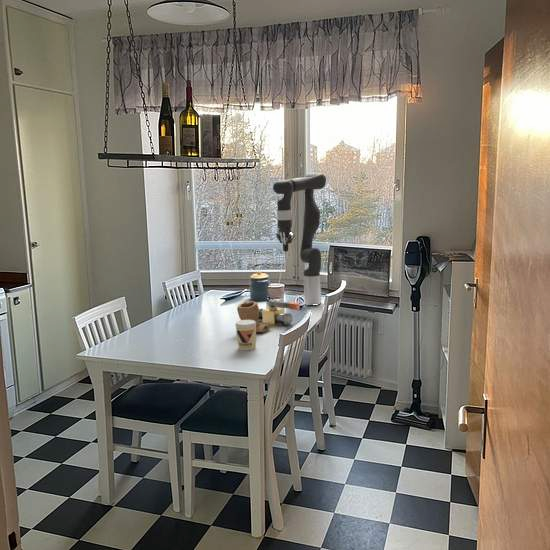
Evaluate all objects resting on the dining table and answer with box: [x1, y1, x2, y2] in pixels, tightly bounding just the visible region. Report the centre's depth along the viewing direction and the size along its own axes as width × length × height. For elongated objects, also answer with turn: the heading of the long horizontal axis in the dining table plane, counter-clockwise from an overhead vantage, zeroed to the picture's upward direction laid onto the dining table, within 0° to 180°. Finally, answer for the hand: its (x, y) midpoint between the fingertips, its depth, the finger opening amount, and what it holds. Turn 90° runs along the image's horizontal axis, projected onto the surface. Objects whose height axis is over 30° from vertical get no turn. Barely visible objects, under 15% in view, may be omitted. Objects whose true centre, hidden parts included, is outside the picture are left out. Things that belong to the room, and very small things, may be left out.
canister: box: [248, 270, 271, 302], centre depth 352 cm, size 13×13×18 cm
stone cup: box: [237, 300, 272, 333], centre depth 283 cm, size 15×12×15 cm
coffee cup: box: [235, 319, 257, 351], centre depth 259 cm, size 9×9×12 cm
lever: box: [267, 299, 301, 311], centre depth 294 cm, size 17×4×3 cm, turn 57°
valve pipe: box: [258, 306, 293, 327], centre depth 299 cm, size 20×8×9 cm, turn 50°
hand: (285, 251), depth 307 cm, fingers closed
